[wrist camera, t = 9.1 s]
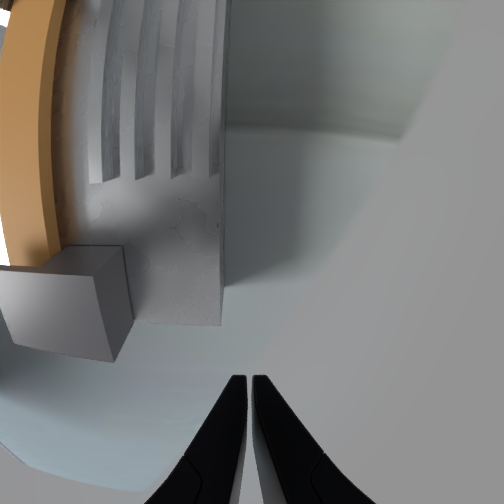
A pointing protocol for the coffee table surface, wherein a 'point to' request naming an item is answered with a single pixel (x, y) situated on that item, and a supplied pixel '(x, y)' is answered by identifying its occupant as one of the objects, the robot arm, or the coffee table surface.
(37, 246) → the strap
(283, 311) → the coffee table surface
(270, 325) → the coffee table surface
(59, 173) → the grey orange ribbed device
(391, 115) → the coffee table surface
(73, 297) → the block
